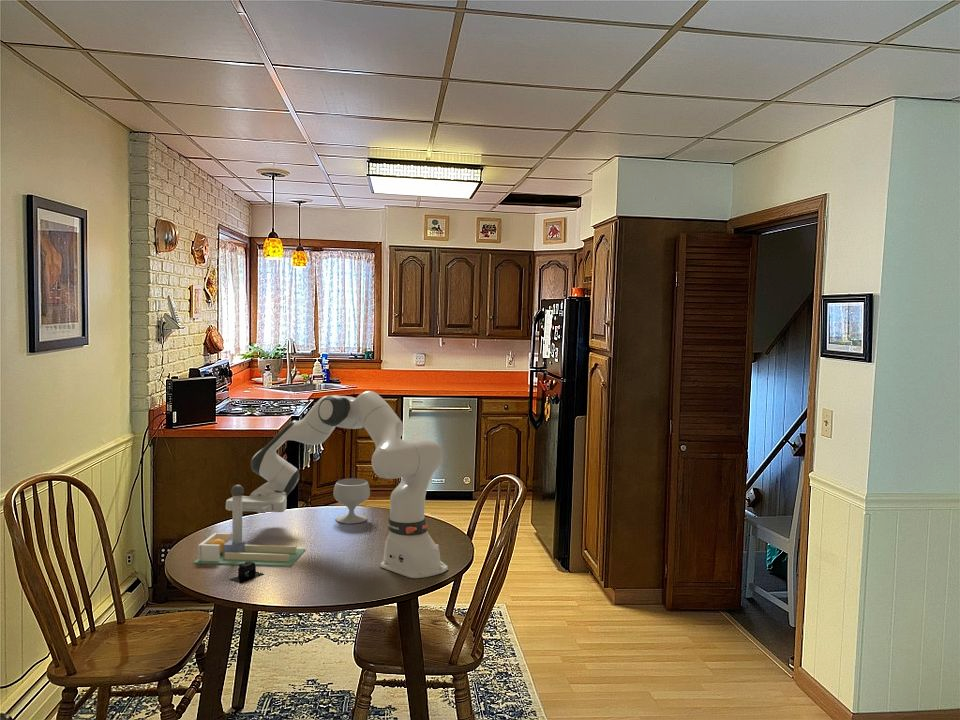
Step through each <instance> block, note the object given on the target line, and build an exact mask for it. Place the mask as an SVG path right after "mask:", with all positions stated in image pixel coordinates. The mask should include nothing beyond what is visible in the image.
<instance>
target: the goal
mask: <svg viewBox="0 0 960 720" xmlns="http://www.w3.org/2000/svg"><path fill="white" fill-rule="evenodd" d="M215 539H222V540H224V541H225V543H226V542H228V541H229V540H232V532H214V533H213V534H211V535H210V536H208V538H206V539H204V540H203V541H201V542H200V543H199V544H198V547H197V548H198V551H197V552H198V553H197V554H198V558H197V559H198V561H220V545H214V544H211V542H212V541H213V540H215ZM296 549H298V547H297V546H296V545H273V544H272V545H271V544H268V545H267V544H245V551H246V552H277V553H296ZM224 559H231V560H262V561H289V554H270V553H239V552H225V553H224Z"/></svg>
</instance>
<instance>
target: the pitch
mask: <svg viewBox="0 0 960 720" xmlns="http://www.w3.org/2000/svg"><path fill="white" fill-rule="evenodd" d="M305 551H306V548H296V553H277V552H246V551H244V552H243V553H270V554H289V561H262V560H231V559H224V552H223V553H221V554H220V561H198V558H197V559H195V560H194V561H193V562H192V564H193V565H194V564H195V565H217V564H222V565H223V566H239V564H242V563H244V564H245V562H248V561H250V562H253V563H255V566H256V567H283V568H288V567H289V568H292V567H293V566H294V565H295V564H296V563H297V561H298V560H299V558H300V557H301V556H302V555H303V554H304V553H305ZM303 552H304V553H303ZM302 553H303V554H302ZM222 565H221V566H222Z"/></svg>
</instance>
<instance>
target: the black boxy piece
mask: <svg viewBox="0 0 960 720" xmlns="http://www.w3.org/2000/svg"><path fill="white" fill-rule="evenodd" d="M256 571H257V566H255V563H253V562H250V561H248V562H245V564H244V563H242V564H239V565H238V568H237V573H238V574H237V576H234V577H232V578H229V579H228V581H231V582H234V583H237V584H240V585H241V584H243V583H246V582H248V581H252V580H254V579H257V578H259V577H262V576H265V575H264V574H265V573H264V572H260V573H259V571H257V572H256ZM263 573H264V574H263Z"/></svg>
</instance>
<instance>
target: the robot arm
mask: <svg viewBox="0 0 960 720" xmlns="http://www.w3.org/2000/svg"><path fill="white" fill-rule="evenodd" d="M336 427H337V428H343V429H350V430H351V429H352V430H357V429H358V430H365V431H366V432H367V433H368V435H369V436H370V438H371V440H372V441H373V443H374V446H375V450H374V452H373V453H372V455H371V468H372V471H373V472H374V474H375V475H376V476H377V477H379V479H380V478H381V479H390V480H392V479H393V480H395V479H400V478H401V481H400V482H399V484H398V485H397V486H396V487H395V488H394V489H393V490H392V492H391V494H390V497H389V517H388V522H387V530H388V535H387V537H386V539H385V540H384V541H385V542H384V548H383V550H384V552H383V559H382V561H380V567H381V568H382V569H384V570H388V571H389V572H390V571H391V572H394V573H395V574H399V575H401V576H405V577H407V578H411V579H420V578H428V577H432V576H436V575H440V574H443V573H444V572H446V571H447V570H449V568H448V565H447V564H446V563H444V562H443V561H441V553H440V545H439V544H437V543H436V542H435V541H434V540H433V538H432V537H431V535H430V534H429V532H428V530H429V524H427V520H426V517H425V509H426V508H425V507H426V495H427V490H428V487H429V485H430V482H431V479H432V477H433V475H434V473H435V472H436V471H437V470H438V469H439V468H440V467H441V465H442V463H443V459H444V453H443V450H442V447H441V446H440V443H438V442H437V441H435V440H431V439H416V440H407V441H406V440H403V439H402V438H401V437H402V435H403V433H404V423H403V421H402V420H401V419H400V417H399V416H398V415H397V413H396V412H395V411H394V409H393V408H392V407H391V405H390V404H389V403H388V402H387V401H386V400H385V399H384V398H383V397H382V396H380V395H379V394H378V393H377V392H376V391H374V390H373V391H372V390H366V391H364V392H361V393H359V395H357V396H356V397H353V396H351V395H350V396H347V395H338V394H333V395H324V396H322V397H320V398H319V399H318V400H317V401H316V402H315V404H313V406H312V407H311V408H310V409H309V411H308V412H307V413H306V415H305V416H304V417H303V418H301V419H300V420H296V419H294V420H292V421H290V422H289V423H288V424H286V425H285V426H284V427H283V428H282V429H281V430H280V431H279V432H278V433H277V434H276V435H275V436H274V437H273V438H272V439H270V441H269V442H268V443H267V444H266V445H265V446H264V447H263V448H261V449H260V450H258V451H257V452H256V453H255V454H254V455H253V456H252V458H251V461H250V466H251V467H250V468H251V471H252V472H253V473H255V474H256V475H258V476H260V477H262V478H263V479H264V480H265V481H267V482H265V483H264V484H262V485H260V486H259V487H257V488H256V489H255V490H253V491H252V492H251V493H250V495H249V496H247V495H242V512H255V513H259V514H266V513H284V512H285V511H286V510H287V504H288V503H287V501H288V500H287V497H288V496H289V494H291V493H292V492H293V490H294V489H295V488H296V487H297V485H298V483H299V481H300V476H301V475H300V470H299V469H298V468H297V467H296V466H294V465H293V464H292V463H290V462H288V461H287V460H286V459H284V458H283V457H282V456H280V455H279V454H278V453H277V450H278V449H279V448H281V446H282V445H283V444H284V443H285V442H287V441H293V442H294V441H295V442H298V443H302V444H304V445H308V446H316V445H320V444H323V443H324V442H326V440H327V439H328V438H329V437H330V436H331V434H332V433H333V432H334V430H335V428H336ZM225 510H227V511H230V512H231V511H232V512H233V496H232V497H230V498H228V499H226V501H225Z"/></svg>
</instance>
